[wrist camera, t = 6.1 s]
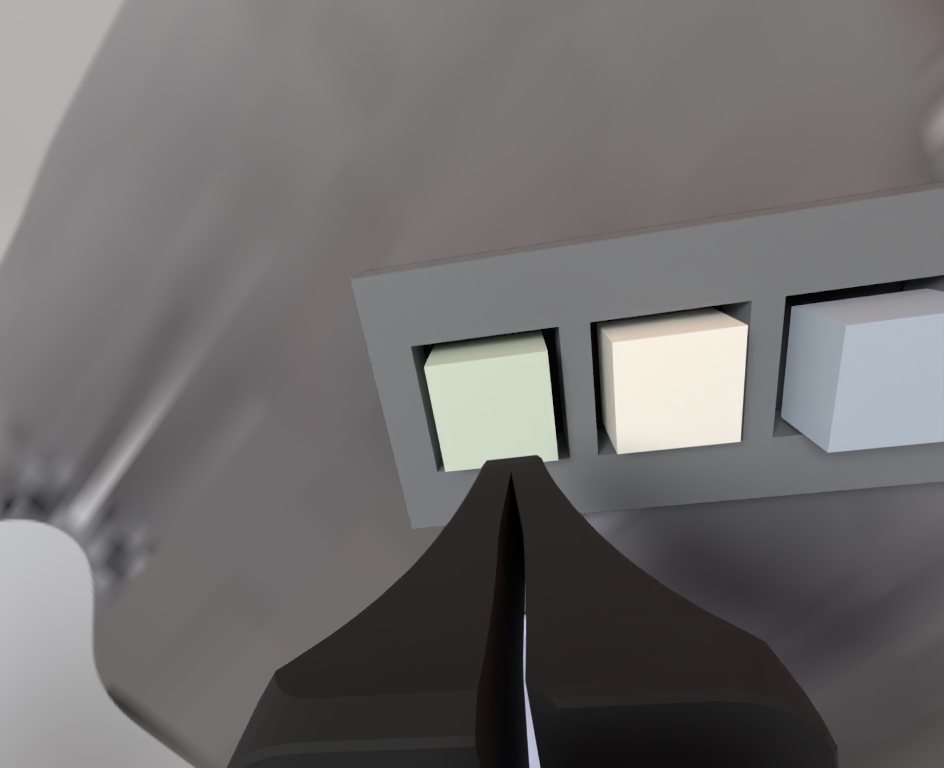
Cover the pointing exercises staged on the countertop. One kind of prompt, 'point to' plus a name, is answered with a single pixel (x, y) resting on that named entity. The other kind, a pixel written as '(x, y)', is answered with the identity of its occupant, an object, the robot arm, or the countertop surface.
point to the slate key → (867, 371)
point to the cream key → (672, 380)
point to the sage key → (492, 399)
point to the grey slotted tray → (642, 293)
